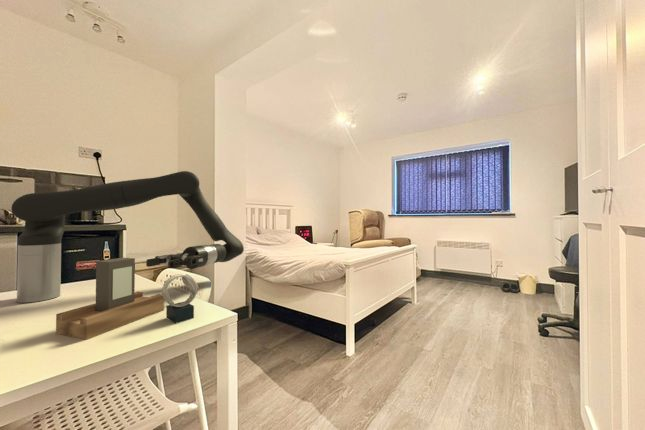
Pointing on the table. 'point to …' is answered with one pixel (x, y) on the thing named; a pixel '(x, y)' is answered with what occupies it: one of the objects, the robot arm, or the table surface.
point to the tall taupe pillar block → (114, 283)
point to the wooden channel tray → (106, 317)
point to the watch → (182, 309)
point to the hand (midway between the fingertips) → (158, 264)
